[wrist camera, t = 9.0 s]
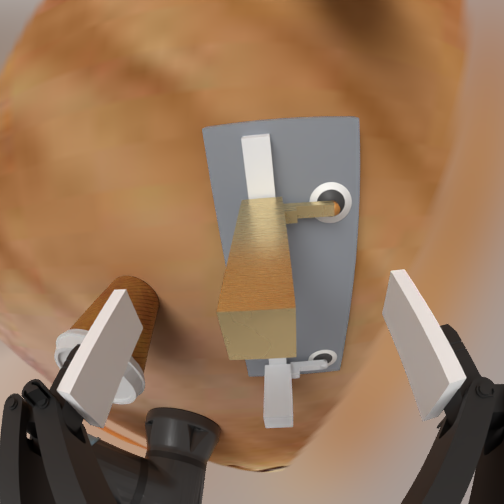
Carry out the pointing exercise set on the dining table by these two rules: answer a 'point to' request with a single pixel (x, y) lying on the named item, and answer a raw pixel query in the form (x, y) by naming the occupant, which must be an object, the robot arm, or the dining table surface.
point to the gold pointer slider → (263, 279)
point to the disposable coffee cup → (147, 312)
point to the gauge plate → (296, 230)
